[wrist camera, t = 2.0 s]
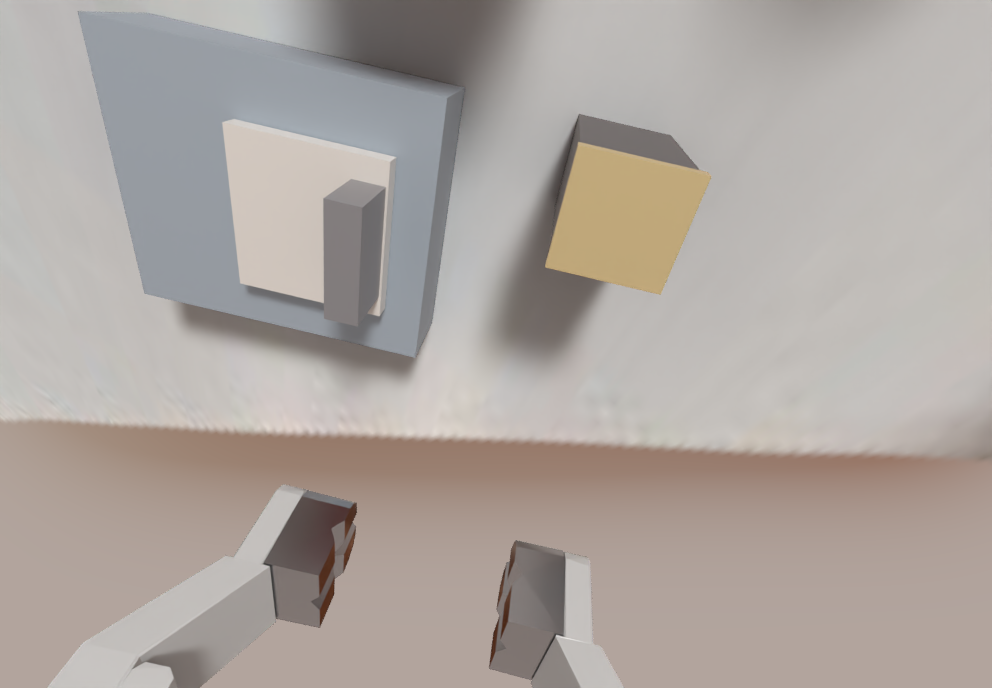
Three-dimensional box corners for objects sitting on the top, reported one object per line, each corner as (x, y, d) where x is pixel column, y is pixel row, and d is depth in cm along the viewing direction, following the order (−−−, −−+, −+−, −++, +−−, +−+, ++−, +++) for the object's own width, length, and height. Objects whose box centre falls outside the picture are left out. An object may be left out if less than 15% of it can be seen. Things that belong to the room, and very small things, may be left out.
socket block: (464, 87, 21) (447, 97, 18) (431, 322, 28) (415, 357, 25) (146, 13, 21) (77, 11, 18) (189, 265, 28) (144, 293, 25)
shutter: (396, 157, 20) (366, 179, 17) (385, 308, 23) (359, 347, 21) (234, 118, 20) (176, 134, 17) (249, 276, 23) (204, 310, 21)
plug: (674, 133, 21) (711, 176, 15) (639, 226, 23) (660, 294, 18) (577, 111, 21) (578, 144, 15) (552, 206, 23) (545, 267, 18)
